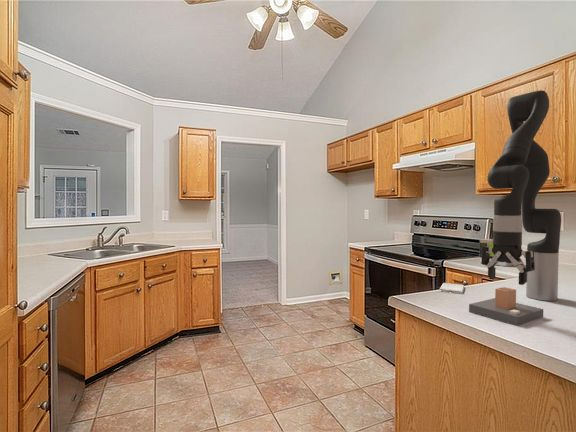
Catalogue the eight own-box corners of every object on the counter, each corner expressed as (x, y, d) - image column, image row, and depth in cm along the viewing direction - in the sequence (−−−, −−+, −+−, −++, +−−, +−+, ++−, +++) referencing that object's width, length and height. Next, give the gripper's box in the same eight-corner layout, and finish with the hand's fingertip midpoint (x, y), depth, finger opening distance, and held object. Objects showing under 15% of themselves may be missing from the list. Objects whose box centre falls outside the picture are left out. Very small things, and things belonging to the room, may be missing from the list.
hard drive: (442, 282, 140) (439, 288, 130) (464, 285, 136) (462, 291, 126) (442, 286, 140) (439, 292, 130) (464, 289, 136) (462, 295, 126)
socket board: (495, 305, 111) (495, 295, 111) (543, 317, 99) (543, 306, 99) (469, 311, 104) (469, 301, 104) (517, 325, 92) (517, 314, 92)
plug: (503, 311, 104) (504, 287, 104) (515, 314, 101) (516, 289, 101) (494, 314, 102) (495, 288, 102) (506, 317, 99) (507, 291, 98)
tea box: (513, 265, 192) (514, 240, 191) (506, 266, 186) (506, 241, 186) (486, 261, 204) (487, 238, 204) (478, 263, 198) (479, 239, 198)
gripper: (539, 230, 96) (538, 285, 97) (490, 228, 109) (489, 276, 109) (526, 232, 93) (526, 288, 93) (477, 229, 105) (476, 278, 106)
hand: (506, 281), depth 101 cm, fingers open, 8 cm apart
